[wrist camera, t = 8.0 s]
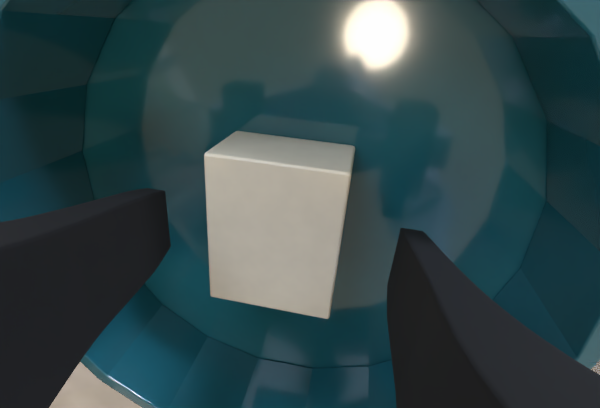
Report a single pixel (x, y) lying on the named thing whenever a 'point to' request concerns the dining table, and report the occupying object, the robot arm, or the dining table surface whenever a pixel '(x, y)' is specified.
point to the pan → (326, 128)
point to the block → (276, 220)
